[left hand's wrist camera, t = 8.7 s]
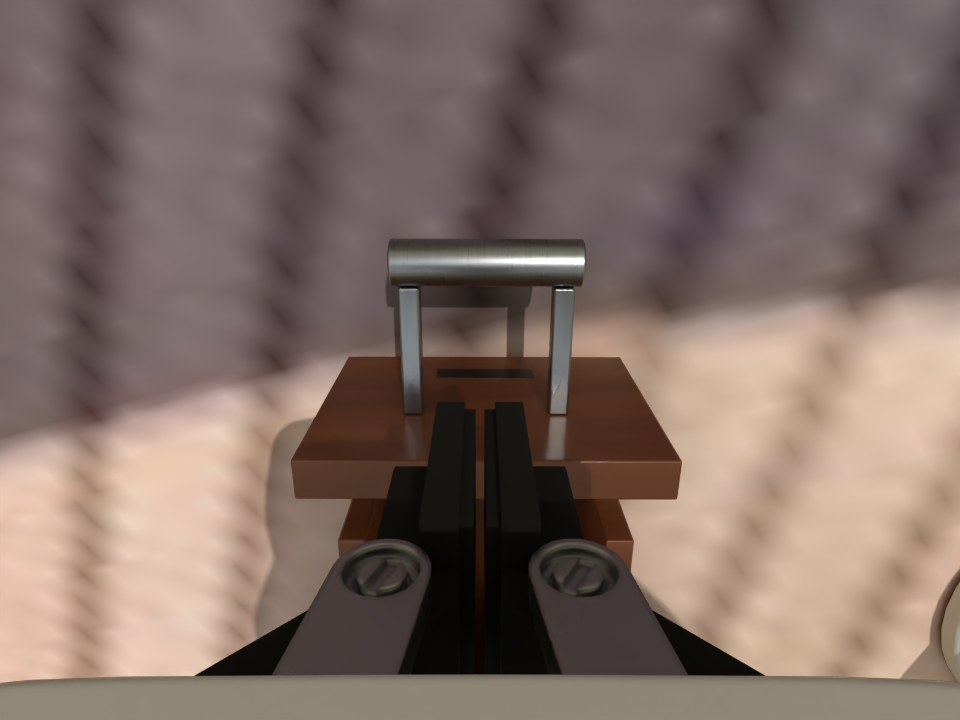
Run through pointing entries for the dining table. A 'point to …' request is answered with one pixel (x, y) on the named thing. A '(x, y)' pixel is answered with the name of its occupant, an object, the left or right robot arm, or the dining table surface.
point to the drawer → (488, 403)
